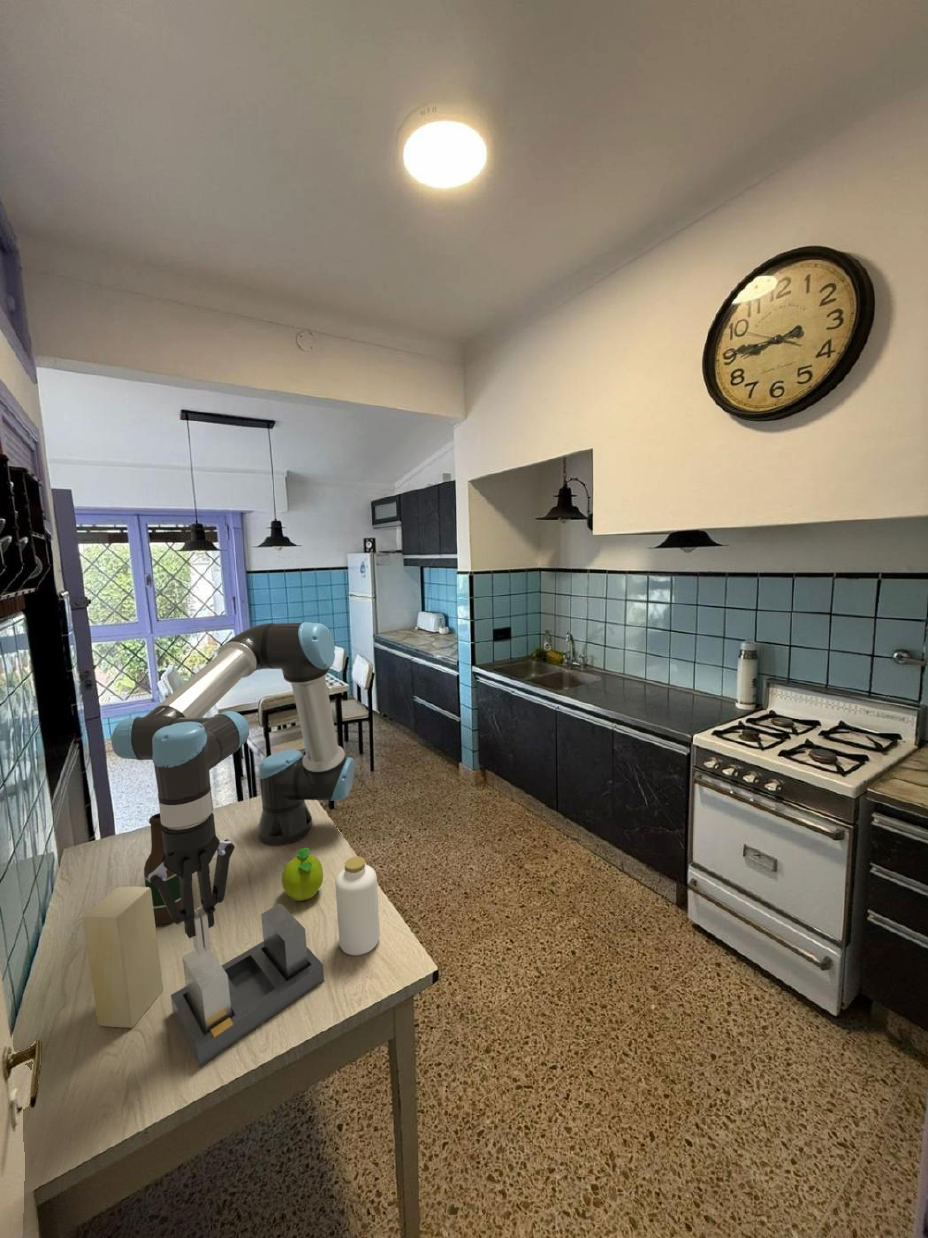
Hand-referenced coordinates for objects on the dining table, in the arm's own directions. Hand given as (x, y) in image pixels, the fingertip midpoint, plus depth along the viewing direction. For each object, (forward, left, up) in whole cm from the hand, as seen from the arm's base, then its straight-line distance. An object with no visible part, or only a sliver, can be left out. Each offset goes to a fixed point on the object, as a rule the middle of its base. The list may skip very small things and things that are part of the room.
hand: (202, 948), depth 84 cm
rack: (-7, 0, -14) cm, 16 cm away
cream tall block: (+9, -14, -15) cm, 22 cm away
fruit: (-27, -18, -15) cm, 36 cm away
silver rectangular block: (0, 0, -13) cm, 13 cm away
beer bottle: (-3, -35, -15) cm, 38 cm away
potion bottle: (-28, +4, -15) cm, 32 cm away
